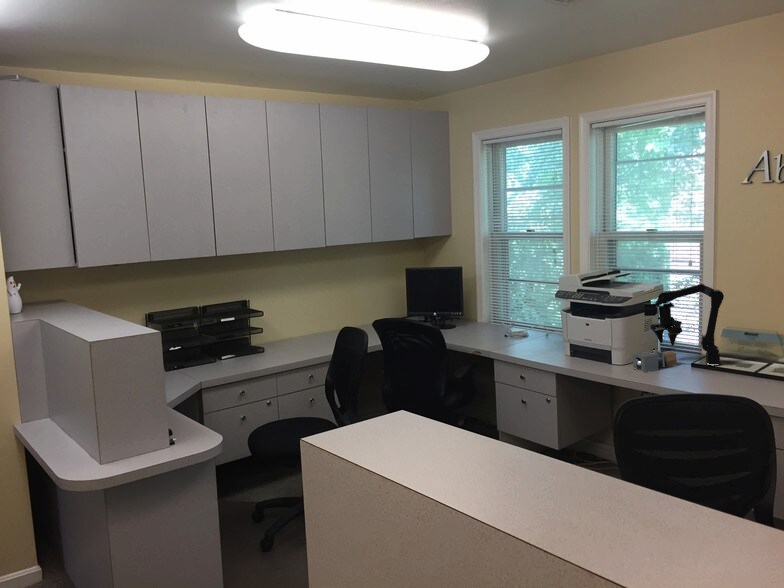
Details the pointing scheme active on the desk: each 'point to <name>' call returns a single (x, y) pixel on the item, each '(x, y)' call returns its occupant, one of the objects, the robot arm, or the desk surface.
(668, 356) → the pusher block
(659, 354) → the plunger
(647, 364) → the gauge frame
